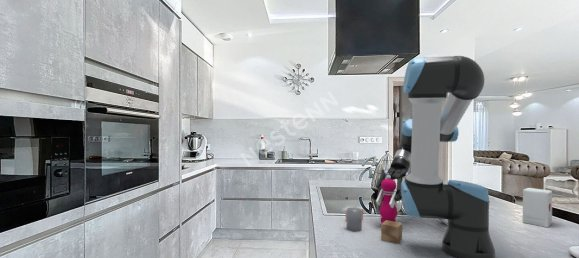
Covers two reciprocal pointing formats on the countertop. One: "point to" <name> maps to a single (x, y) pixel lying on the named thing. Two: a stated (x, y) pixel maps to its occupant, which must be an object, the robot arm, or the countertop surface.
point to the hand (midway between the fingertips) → (384, 204)
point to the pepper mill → (388, 200)
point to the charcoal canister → (354, 219)
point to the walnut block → (391, 231)
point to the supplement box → (537, 207)
